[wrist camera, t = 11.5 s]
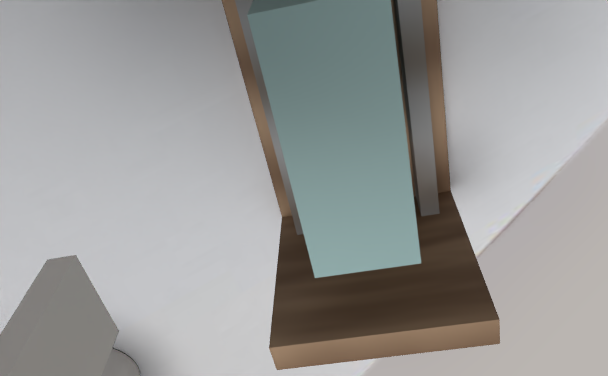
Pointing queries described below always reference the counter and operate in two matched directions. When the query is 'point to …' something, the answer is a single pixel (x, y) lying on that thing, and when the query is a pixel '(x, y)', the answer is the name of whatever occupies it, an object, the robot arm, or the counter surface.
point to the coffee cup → (120, 365)
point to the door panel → (340, 128)
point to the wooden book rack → (389, 281)
